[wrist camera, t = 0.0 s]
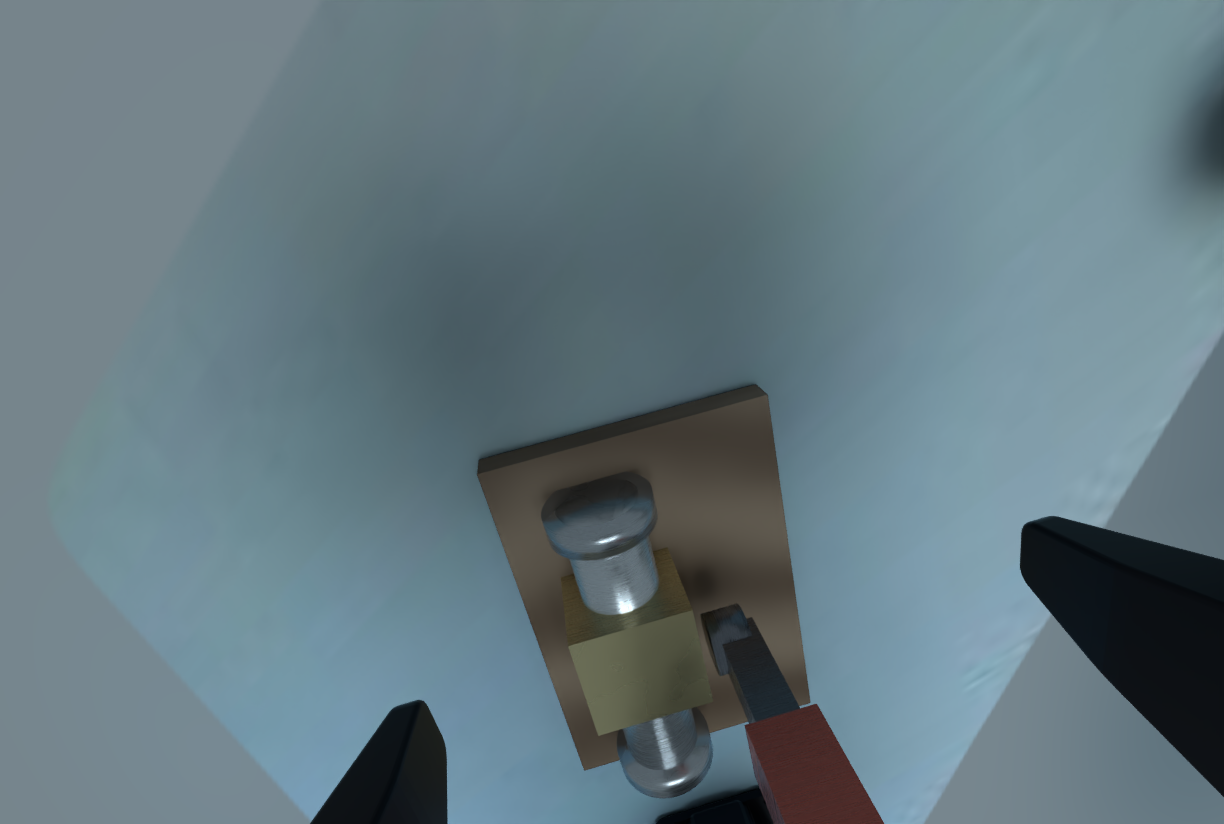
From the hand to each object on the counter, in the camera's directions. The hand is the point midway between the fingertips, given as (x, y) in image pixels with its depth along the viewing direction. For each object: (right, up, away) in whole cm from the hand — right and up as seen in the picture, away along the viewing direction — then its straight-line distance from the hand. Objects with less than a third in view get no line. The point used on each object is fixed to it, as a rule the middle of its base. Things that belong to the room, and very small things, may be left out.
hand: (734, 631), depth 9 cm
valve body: (-1, -5, +17) cm, 18 cm away
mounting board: (0, -4, +18) cm, 18 cm away
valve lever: (+3, -5, +14) cm, 15 cm away
